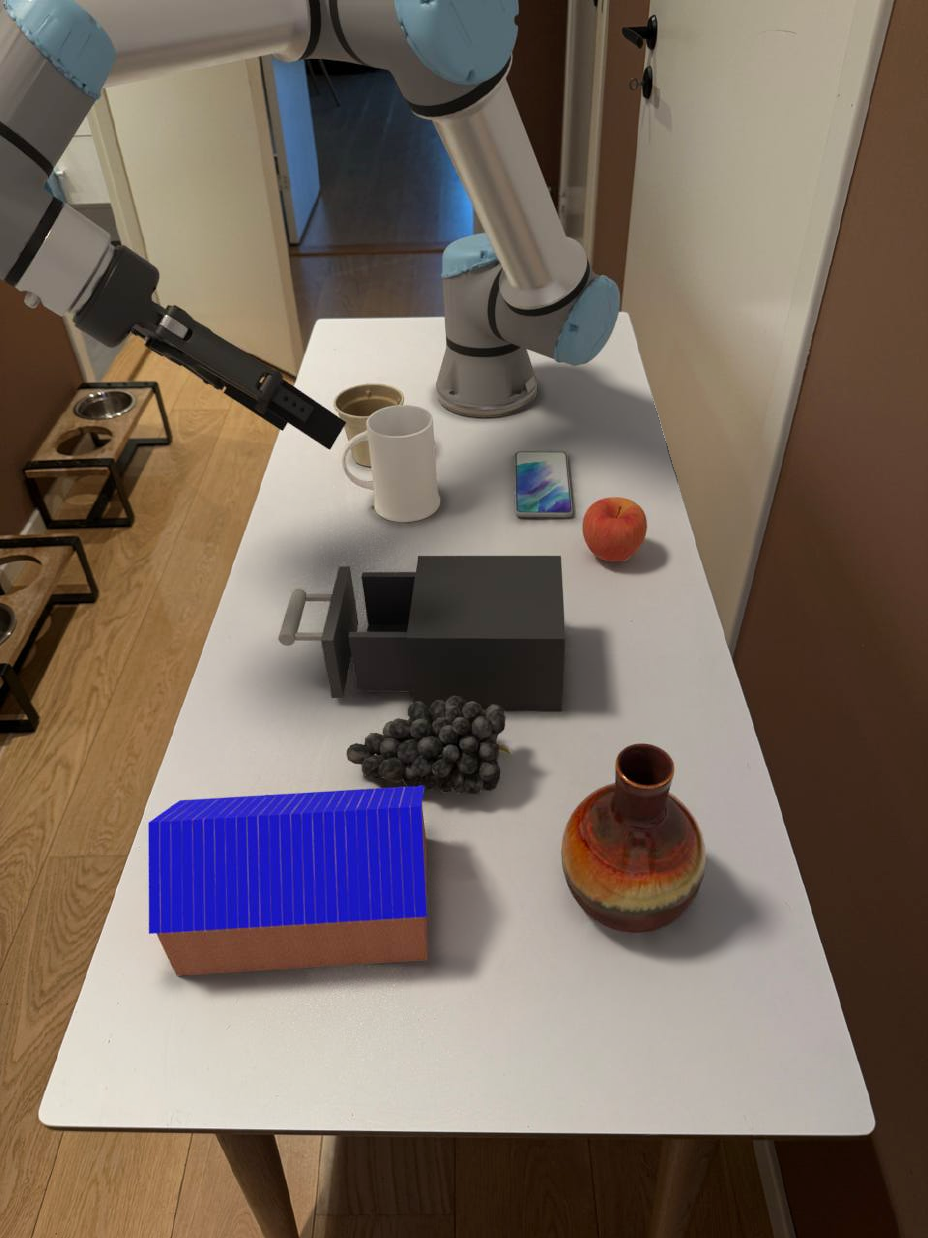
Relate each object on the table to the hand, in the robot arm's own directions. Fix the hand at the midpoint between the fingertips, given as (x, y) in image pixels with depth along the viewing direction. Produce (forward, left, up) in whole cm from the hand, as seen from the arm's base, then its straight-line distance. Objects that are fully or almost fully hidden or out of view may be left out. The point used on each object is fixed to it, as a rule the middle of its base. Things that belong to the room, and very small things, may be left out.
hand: (311, 426), depth 84 cm
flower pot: (-37, -1, -25) cm, 44 cm away
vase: (+31, +28, -25) cm, 49 cm away
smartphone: (-29, +22, -25) cm, 44 cm away
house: (+33, +2, -25) cm, 42 cm away
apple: (-14, +30, -25) cm, 41 cm away
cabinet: (+5, +16, -25) cm, 30 cm away
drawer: (+5, +5, -24) cm, 25 cm away
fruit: (+19, +11, -25) cm, 34 cm away
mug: (-25, +3, -25) cm, 35 cm away
